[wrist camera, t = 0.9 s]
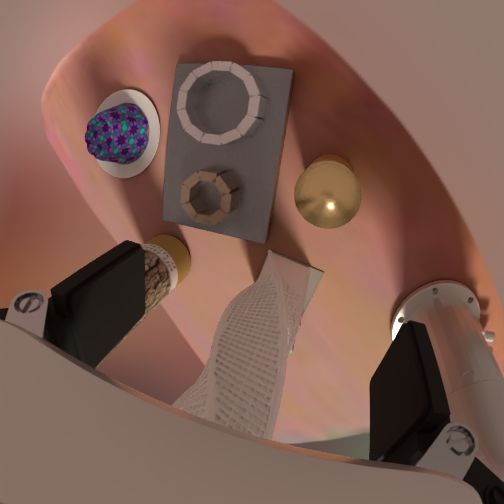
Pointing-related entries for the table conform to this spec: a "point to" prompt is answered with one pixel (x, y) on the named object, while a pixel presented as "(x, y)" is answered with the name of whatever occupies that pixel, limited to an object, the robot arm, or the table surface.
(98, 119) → the pudding
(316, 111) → the table surface
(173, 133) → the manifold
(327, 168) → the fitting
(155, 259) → the paper tube
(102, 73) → the table surface
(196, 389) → the skyscraper
